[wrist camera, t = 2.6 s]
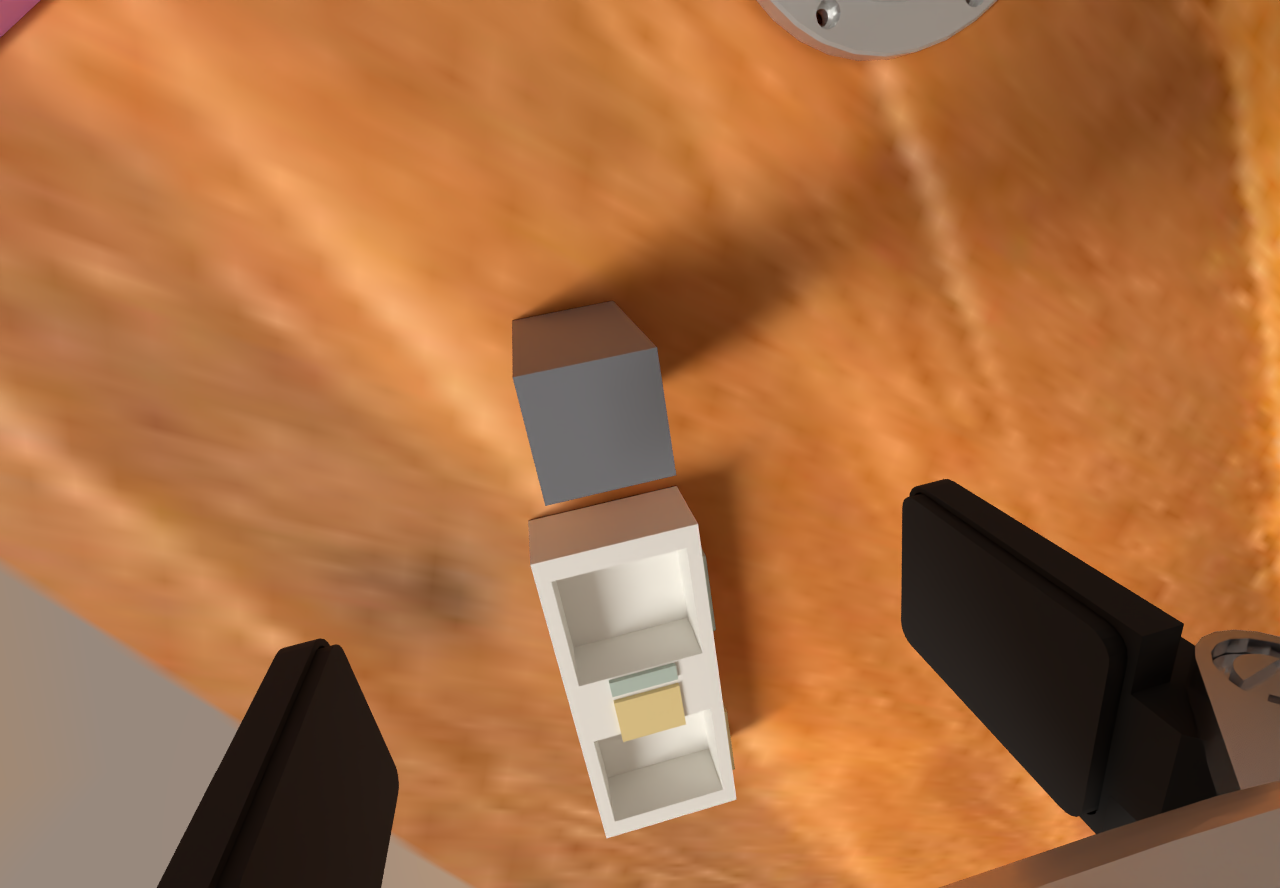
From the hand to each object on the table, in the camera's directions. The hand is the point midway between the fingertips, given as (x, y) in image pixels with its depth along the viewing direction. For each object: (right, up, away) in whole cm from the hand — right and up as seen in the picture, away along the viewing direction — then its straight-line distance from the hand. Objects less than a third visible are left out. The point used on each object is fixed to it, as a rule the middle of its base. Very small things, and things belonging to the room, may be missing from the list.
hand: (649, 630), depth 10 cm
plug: (-3, +6, +15) cm, 16 cm away
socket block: (0, -7, +21) cm, 22 cm away
